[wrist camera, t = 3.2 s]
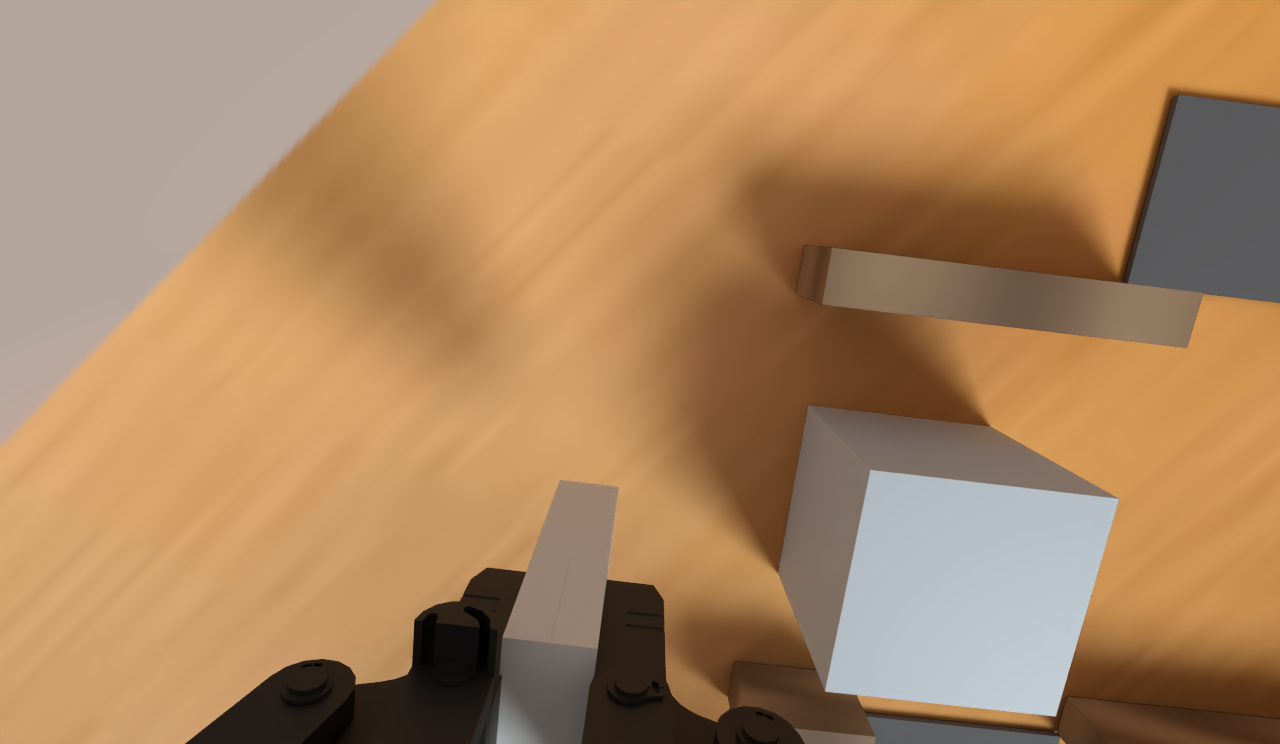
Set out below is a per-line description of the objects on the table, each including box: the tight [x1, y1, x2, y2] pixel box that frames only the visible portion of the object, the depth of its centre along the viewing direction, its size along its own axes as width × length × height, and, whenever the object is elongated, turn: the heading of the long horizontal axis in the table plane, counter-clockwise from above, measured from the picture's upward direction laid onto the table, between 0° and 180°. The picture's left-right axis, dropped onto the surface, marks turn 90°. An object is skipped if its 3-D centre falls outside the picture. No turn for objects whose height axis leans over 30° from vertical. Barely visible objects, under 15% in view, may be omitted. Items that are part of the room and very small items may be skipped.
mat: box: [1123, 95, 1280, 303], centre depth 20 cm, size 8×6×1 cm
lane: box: [728, 245, 1280, 744], centre depth 20 cm, size 26×16×4 cm, turn 83°
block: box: [778, 405, 1119, 716], centre depth 19 cm, size 6×6×6 cm
